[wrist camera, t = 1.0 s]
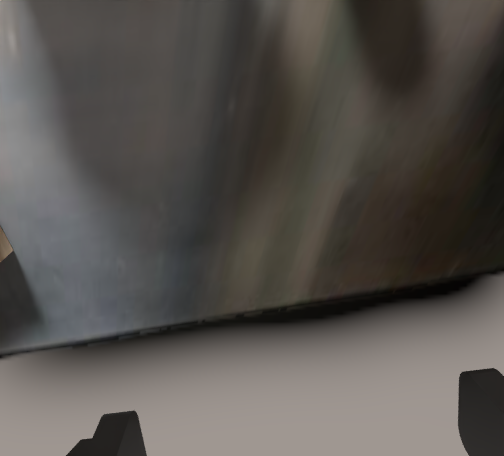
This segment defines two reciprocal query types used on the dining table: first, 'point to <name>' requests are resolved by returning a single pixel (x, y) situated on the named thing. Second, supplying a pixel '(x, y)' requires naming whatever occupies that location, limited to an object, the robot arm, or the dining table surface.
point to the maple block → (4, 246)
